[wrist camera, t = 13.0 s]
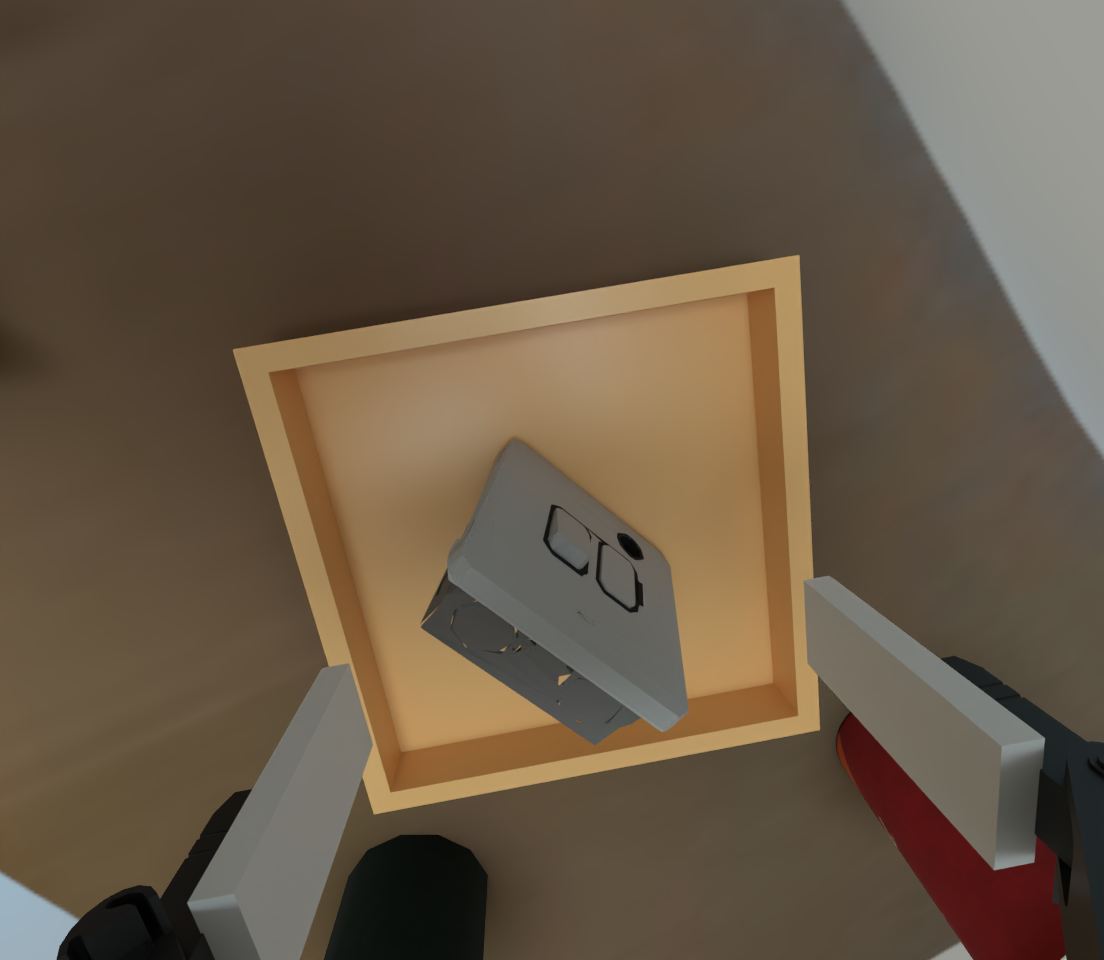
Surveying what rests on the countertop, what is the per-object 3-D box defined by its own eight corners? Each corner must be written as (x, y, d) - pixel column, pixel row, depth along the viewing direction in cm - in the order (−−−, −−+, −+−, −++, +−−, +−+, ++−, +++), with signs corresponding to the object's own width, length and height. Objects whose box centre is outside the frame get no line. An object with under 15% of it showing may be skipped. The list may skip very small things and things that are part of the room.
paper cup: (814, 802, 31) (1044, 1156, 18) (818, 684, 29) (1080, 980, 16) (947, 784, 32) (1272, 1118, 18) (960, 666, 30) (1335, 942, 16)
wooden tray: (273, 347, 23) (232, 349, 20) (758, 266, 24) (799, 254, 20) (390, 758, 29) (374, 814, 25) (784, 684, 29) (819, 730, 26)
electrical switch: (669, 556, 26) (731, 691, 17) (596, 629, 27) (619, 790, 18) (513, 430, 24) (492, 510, 15) (442, 515, 25) (384, 634, 16)
